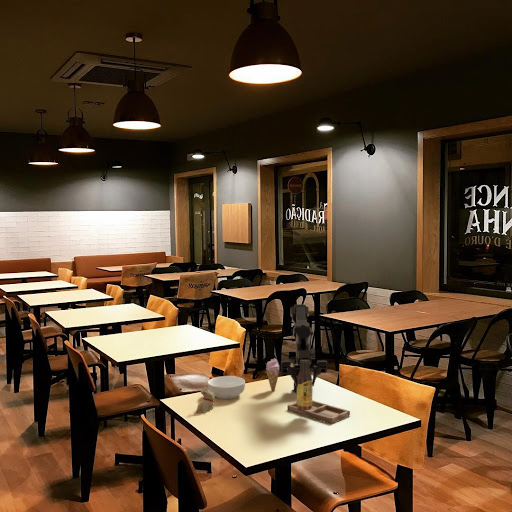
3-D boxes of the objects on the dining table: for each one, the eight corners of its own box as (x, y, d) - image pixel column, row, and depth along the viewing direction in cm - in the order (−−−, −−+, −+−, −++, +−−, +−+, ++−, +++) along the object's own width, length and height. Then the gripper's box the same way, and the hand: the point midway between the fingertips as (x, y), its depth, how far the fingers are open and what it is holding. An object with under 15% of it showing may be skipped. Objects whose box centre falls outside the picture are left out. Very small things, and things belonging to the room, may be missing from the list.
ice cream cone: (283, 390, 262) (282, 358, 261) (274, 393, 257) (273, 361, 256) (272, 387, 266) (272, 356, 265) (263, 390, 262) (263, 359, 261)
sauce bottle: (305, 412, 222) (304, 362, 220) (293, 408, 226) (292, 359, 225) (316, 408, 226) (315, 359, 225) (304, 404, 231) (303, 356, 229)
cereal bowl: (201, 395, 257) (200, 380, 256) (230, 388, 267) (230, 373, 266) (222, 405, 243) (221, 389, 243) (252, 397, 253) (252, 381, 253)
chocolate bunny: (215, 411, 235) (214, 388, 235) (196, 412, 234) (195, 389, 233) (214, 407, 241) (213, 384, 240) (195, 408, 239) (195, 385, 239)
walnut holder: (306, 403, 244) (306, 398, 243) (349, 415, 227) (349, 411, 227) (287, 410, 235) (287, 405, 235) (331, 423, 219) (331, 418, 219)
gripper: (280, 341, 228) (281, 376, 218) (326, 341, 228) (329, 376, 218) (280, 355, 237) (281, 389, 227) (325, 355, 236) (328, 389, 226)
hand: (304, 386), depth 224 cm, fingers closed on sauce bottle, 6 cm apart
